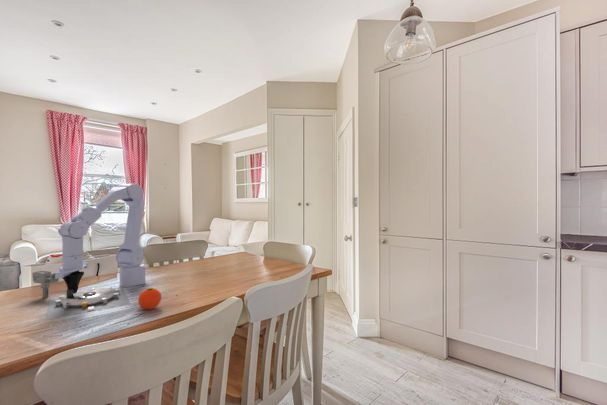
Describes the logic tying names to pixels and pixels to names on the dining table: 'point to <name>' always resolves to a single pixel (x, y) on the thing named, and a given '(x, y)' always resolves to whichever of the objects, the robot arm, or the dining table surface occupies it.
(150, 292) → the clementine
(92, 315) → the dining table surface
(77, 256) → the robot arm
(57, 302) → the sprocket
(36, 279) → the mechanical component
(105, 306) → the index board
